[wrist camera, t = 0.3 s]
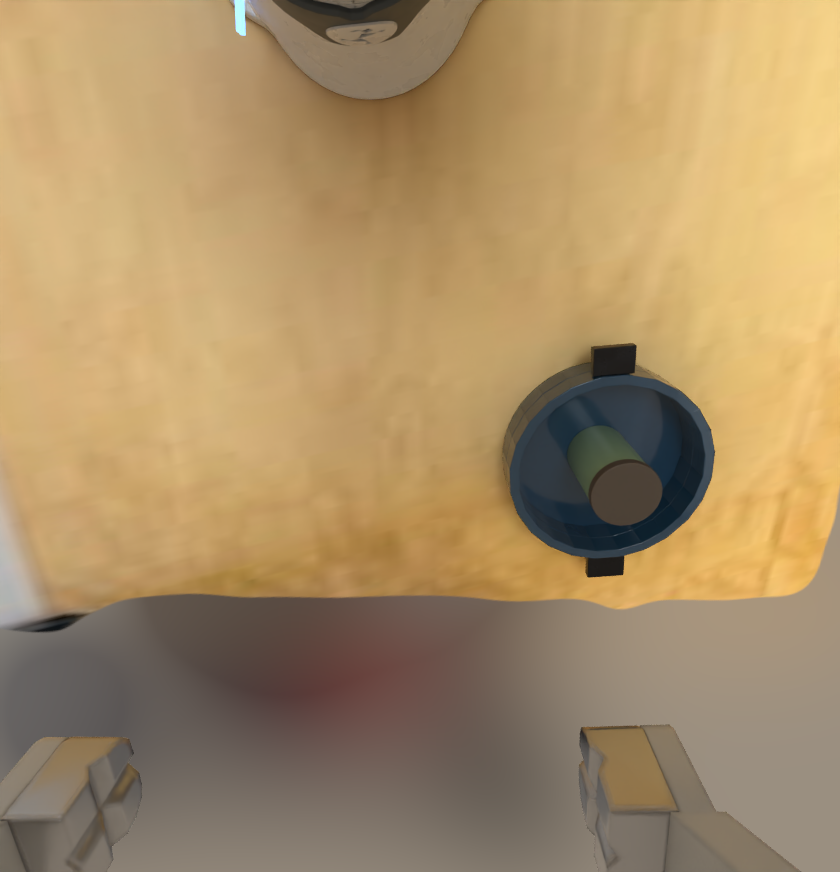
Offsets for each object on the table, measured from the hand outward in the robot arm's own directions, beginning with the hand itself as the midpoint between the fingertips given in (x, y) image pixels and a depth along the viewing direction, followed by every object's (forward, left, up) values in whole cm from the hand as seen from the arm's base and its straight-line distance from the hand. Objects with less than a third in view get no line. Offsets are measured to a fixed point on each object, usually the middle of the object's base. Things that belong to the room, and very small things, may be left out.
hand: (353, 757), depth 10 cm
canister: (+13, +16, -38) cm, 43 cm away
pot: (+13, +16, -39) cm, 44 cm away
